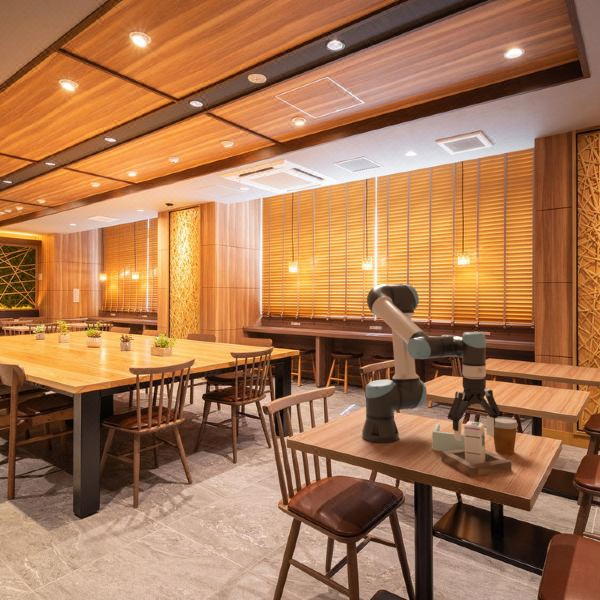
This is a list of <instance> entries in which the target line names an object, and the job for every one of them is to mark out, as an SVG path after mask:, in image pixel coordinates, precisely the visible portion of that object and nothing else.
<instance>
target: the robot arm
mask: <svg viewBox="0 0 600 600" xmlns="http://www.w3.org/2000/svg"><path fill="white" fill-rule="evenodd" d="M419 302H420V299H419V293H418V291H417V290H416V288H414V287H413V286H412V285H410V284H404V283H394V284H393V283H391V284H386V283H385V284H382V283H381V284H377V285H375V286H374V287H372V288H371V289H370V291H368V294H367V297H366V304H367V307H368V309H369V311H370V312H372V314H373V315H374V316H375V317H380V318H381V319H382V320H383V322H385V324H386V325H388V326H389V328H391V332H392V333H391V334H392V335H391V337H392V346H393V347H392V348H393V349H392V350H393V361H394V363H393V364H394V372H395V373H394V375H393V376H392V377H391V379H392V380H391V379H377V380H373V381H370V382H369V383H367V384H366V386H365V420H364V425H363V428H362V431H361V436H362V437H361V438H363V439H364V440H365V441H368V442H372V443H380V444H381V443H384V444H385V443H392V442H395V441H397V440H399V438H400V435H399V434H400V433H399V429H398V426H397V424H396V420H395V411H401V410H402V411H403V410H410V409H411V410H414V409H416V408H420V407H421V406H423V405H424V403H425V402H426V399H427V396H428V391H427V386H426V385H425V383H424V381H422V380H421V379H420V376H419V375H418V374H417V373H416V362H415V360H426V359H435V358H436V359H437V358H447V357H456V358H462V362H461V363H462V369H461V370H462V376H463V377H462V389H463V391H462V392H461V391H456V392H455V393H454V400H453V402H452V405H451V407H450V410H449V411H448V415H447V416H446V417H447V419H448V420H450V421H452V430H453V432H454V439H456V440H458V441H461V434H462V421H461V419H462V417H463V416H464V414H465V413H466V411H467V409H468V408H469V407H471V406H472V405H475V404H477V405H480V406H481V407H482V408H483V410H484V411H485V412H486V413H487V416H486V435H487V436H490V437H492V438H494V437H493V436H494V426H495V418H497V417H499V416H500V415H501V411H500V409H499V407H498V404H497V402H496V400H495V398H494V393H493V390H492V389H490V388H487V382H486V381H487V379H486V375H487V373H486V371H487V367H486V363H487V362H486V361H487V360H486V357H487V356H486V355H487V352H486V351H487V343H486V340H487V339H486V335H485V334H484V333H483V332H480V331H479V332H477V331H465V332H463V333H462V335H461V336H459V335H453V334H442V335H441V336H429V335H428V334H427V333H425V331H423V330H422V329H421V328H420V327H419V326H418V325H417V324H415V322H413V321H412V317H413V316H414V315H415V310H416V309H417V308H418V305H419ZM485 398H486V399H485Z"/></svg>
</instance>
